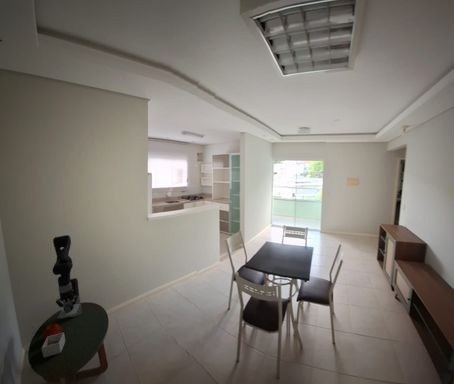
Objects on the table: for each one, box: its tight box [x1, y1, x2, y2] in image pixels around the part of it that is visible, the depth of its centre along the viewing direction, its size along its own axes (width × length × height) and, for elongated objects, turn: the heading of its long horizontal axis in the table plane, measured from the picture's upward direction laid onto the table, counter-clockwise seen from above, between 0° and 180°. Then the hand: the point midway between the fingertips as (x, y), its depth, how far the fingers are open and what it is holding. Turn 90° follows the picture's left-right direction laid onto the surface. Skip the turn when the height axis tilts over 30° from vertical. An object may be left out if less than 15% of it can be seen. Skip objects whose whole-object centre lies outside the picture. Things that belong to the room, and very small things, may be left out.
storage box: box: [41, 332, 66, 358], centre depth 152 cm, size 10×10×8 cm
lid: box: [57, 302, 80, 319], centre depth 154 cm, size 11×11×7 cm
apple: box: [42, 323, 62, 341], centre depth 162 cm, size 11×11×11 cm
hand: (69, 310), depth 155 cm, fingers closed on lid, 3 cm apart
